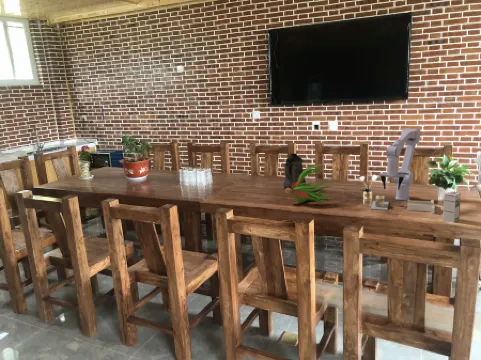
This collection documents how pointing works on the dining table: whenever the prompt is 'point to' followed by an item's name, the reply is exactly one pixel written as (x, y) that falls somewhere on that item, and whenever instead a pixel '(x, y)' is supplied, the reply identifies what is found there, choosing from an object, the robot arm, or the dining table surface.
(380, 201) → the birch block
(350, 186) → the dining table surface
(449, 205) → the syrup box
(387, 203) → the slate board
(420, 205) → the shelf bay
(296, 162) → the dark grey backpack
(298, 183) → the decorative plant
